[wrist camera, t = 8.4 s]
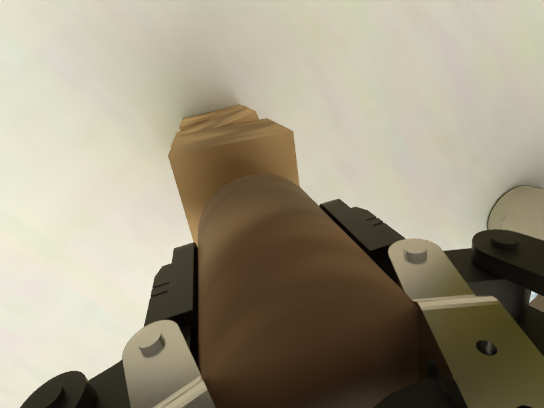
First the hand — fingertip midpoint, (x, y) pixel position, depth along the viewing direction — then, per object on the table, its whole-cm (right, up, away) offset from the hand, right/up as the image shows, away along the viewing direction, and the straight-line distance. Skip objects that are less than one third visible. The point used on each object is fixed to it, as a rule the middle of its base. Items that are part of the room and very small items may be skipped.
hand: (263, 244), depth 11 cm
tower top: (-2, +4, +10) cm, 11 cm away
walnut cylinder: (0, 0, +1) cm, 1 cm away
